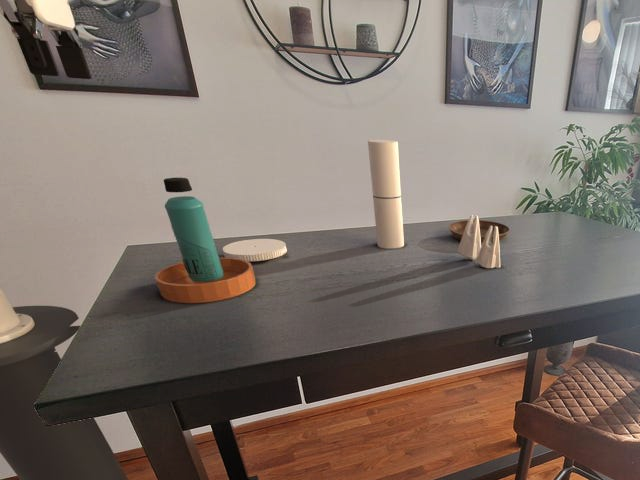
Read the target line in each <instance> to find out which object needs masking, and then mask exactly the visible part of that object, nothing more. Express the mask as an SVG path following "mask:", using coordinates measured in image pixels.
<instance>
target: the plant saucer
mask: <svg viewBox="0 0 640 480" xmlns="http://www.w3.org/2000/svg"><path fill="white" fill-rule="evenodd" d="M468 220H469V219H467V220H459V221H456V222H453V223H450V224H449V226H448V230H449V231H450V233H451V235H452V236H454V238H455V239H457V240H458V241H460V242H461V239H462V236H463V233H464V231H465V228H466V225H467V223H468ZM474 222H475V219H473V224H474ZM490 226H492V238H491V244H492V243H493V236H494V229H495V226H497V227H498V234H499V242H501V241H503V239H505V238H506V236H507V235H508V234H509V232H510V231H511V229H510V227H509V226H507V225H506V224H503V223H500V222H497V221H490V220H480V219H479V227H480V238H481V245H482V243H483V241H484V239H485V236H486V234H487V232H488V229H489V228H490Z"/></svg>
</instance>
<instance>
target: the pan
mask: <svg viewBox="0 0 640 480" xmlns="http://www.w3.org/2000/svg"><path fill="white" fill-rule="evenodd" d="M219 259H220V261H221V262H220V263H222V264H221V266H223V267H222V269H223V272H224V273H223V277H222V278H220V279H217V280H214V281H209V282H195V281H192V280H191V279H190V278H189V275H188V273H187V270H186V269H185V266H184V264H185V263H184V262H183V261H182V262H176V263H174V264H171V265H168V266H166V267H164V268H161V269H159V270H158V271H157V272H156V273H155V274H154V281H155V284H156V286H157V289H158V291H159V293H160V296H161V297H162V298H163V299H165V300H167V301H169V302H173V303H174V302H175V303H178V304H179V303H181V304H201V303H211V302H219V301H223V300H227V299H231V298H234V297H237V296H240V295H242V294H245V293H247V292H248V291H250V290H252V289H253V288H254V287H255V285H256V283H257V282H256V277H255V272H254V269H253V265H252V263H251V262H250V261H245V260H242V259H236V258H225V257H220V258H219Z"/></svg>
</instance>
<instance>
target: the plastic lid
mask: <svg viewBox="0 0 640 480" xmlns="http://www.w3.org/2000/svg"><path fill="white" fill-rule="evenodd" d="M221 249H222V254H223V256H224V257H223V258H236V259H242V260H245V261H248V262H260V261H267V260H272V259H276V258H279V257H281V256H283V255H285V254H286V253H287V251H288V250H287V244H286V242H284V241H282V240H280V239H274V238H273V239H272V238H251V239H243V240H238V241H234V242H231V243H228V244H226V245H224V246H223V247H222V248H221Z"/></svg>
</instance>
